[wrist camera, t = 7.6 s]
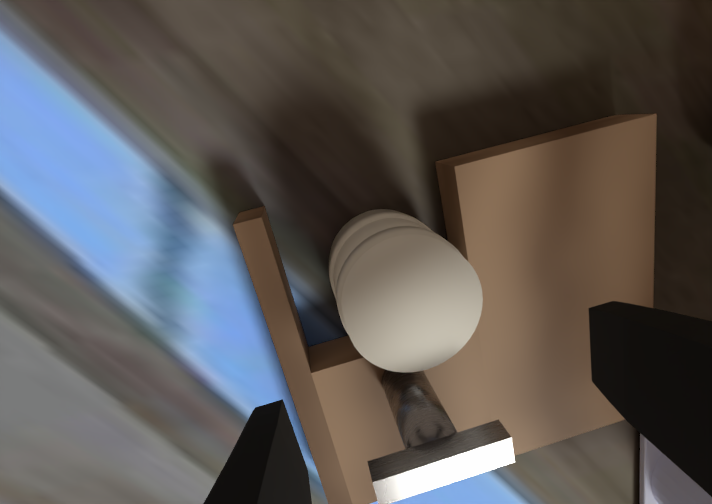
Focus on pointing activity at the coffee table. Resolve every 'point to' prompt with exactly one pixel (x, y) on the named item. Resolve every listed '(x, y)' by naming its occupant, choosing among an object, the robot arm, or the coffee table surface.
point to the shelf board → (491, 297)
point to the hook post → (432, 442)
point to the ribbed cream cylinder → (402, 291)
